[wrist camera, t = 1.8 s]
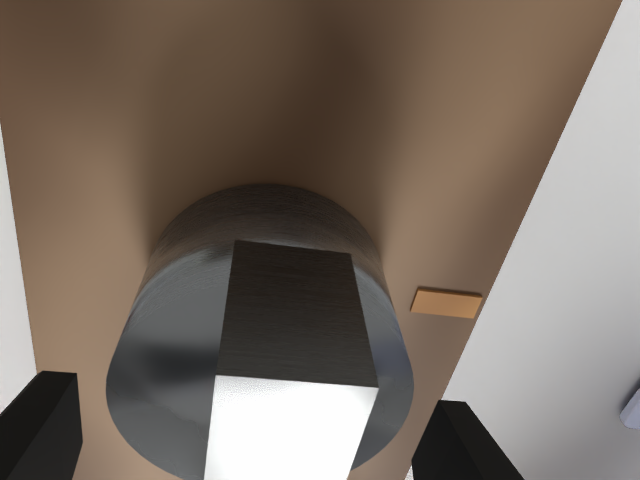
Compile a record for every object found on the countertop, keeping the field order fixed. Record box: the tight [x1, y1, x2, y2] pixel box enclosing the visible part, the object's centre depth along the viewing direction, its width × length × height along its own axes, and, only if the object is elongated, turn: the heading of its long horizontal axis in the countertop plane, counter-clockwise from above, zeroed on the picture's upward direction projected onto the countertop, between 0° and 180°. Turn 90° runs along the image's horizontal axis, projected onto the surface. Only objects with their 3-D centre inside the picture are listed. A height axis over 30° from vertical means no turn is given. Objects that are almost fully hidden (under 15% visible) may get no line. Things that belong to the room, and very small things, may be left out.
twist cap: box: [105, 184, 414, 480], centre depth 11 cm, size 6×8×7 cm
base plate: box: [0, 0, 622, 480], centre depth 15 cm, size 13×20×2 cm, turn 169°
